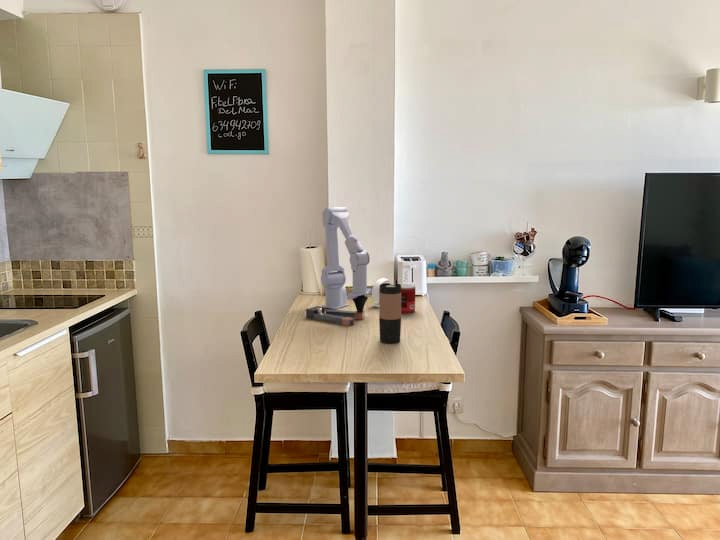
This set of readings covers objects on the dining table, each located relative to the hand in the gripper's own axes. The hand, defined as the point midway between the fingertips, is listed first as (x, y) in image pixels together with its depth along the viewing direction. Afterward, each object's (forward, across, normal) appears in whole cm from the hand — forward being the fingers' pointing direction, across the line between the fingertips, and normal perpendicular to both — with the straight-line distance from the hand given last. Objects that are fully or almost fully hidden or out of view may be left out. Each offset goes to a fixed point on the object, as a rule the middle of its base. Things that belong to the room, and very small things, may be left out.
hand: (359, 313), depth 228 cm
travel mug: (+2, -20, -28) cm, 34 cm away
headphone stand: (+2, +21, +4) cm, 21 cm away
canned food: (+2, +20, -10) cm, 22 cm away
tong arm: (+1, -4, +4) cm, 6 cm away
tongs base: (+1, -10, +6) cm, 12 cm away
